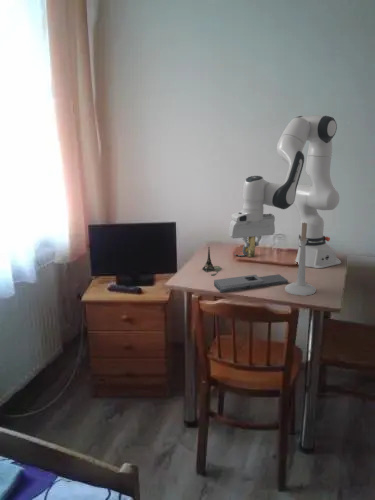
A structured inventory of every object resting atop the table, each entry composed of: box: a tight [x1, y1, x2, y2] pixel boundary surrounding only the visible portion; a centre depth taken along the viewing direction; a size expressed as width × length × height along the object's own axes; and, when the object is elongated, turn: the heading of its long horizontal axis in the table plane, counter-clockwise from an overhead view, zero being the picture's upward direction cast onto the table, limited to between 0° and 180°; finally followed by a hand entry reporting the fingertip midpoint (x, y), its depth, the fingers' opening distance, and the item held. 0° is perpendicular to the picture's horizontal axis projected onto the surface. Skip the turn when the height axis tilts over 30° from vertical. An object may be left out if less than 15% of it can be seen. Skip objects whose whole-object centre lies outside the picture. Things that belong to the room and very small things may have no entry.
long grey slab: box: [213, 274, 288, 293], centre depth 199 cm, size 32×8×3 cm, turn 107°
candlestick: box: [284, 222, 317, 297], centre depth 188 cm, size 13×13×30 cm
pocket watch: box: [234, 237, 248, 257], centre depth 237 cm, size 8×8×10 cm
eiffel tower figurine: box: [201, 246, 223, 277], centre depth 216 cm, size 15×10×13 cm
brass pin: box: [247, 236, 257, 258], centre depth 194 cm, size 3×3×10 cm
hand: (251, 246), depth 194 cm, fingers closed on brass pin, 3 cm apart
